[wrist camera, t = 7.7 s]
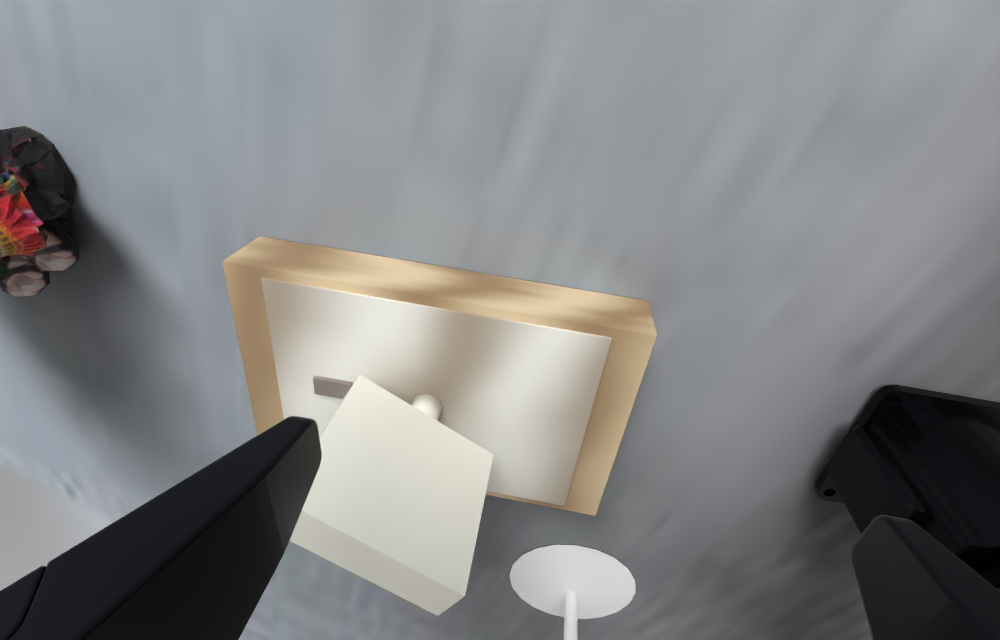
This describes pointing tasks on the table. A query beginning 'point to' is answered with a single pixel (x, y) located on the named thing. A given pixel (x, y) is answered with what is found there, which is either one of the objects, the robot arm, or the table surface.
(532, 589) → the wineglass
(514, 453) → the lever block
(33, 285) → the figurine
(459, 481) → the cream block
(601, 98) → the table surface
